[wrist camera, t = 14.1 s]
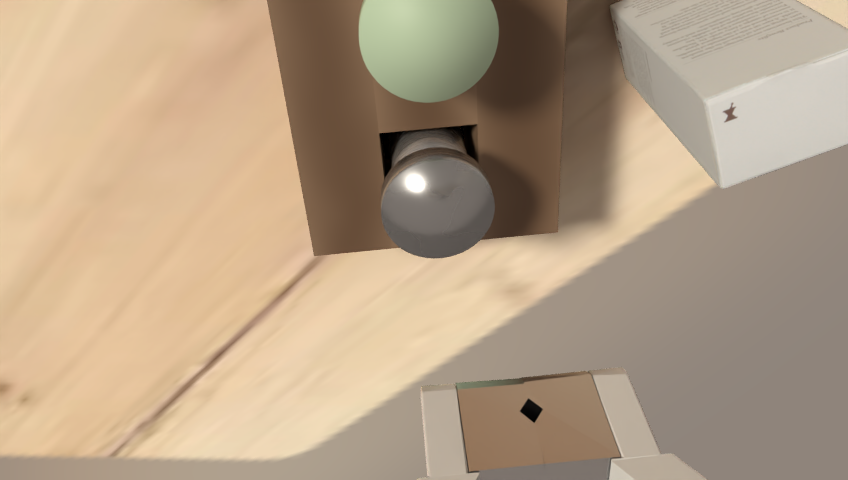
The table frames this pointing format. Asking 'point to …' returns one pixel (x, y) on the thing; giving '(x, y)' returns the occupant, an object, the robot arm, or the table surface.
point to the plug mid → (428, 45)
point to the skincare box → (739, 79)
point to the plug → (435, 194)
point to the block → (419, 119)
